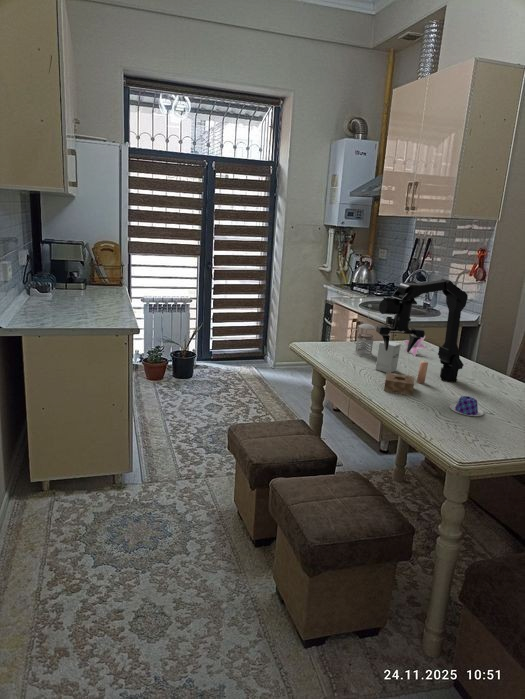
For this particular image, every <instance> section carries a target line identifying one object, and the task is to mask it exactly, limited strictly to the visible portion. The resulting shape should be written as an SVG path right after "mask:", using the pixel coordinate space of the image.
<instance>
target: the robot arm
mask: <svg viewBox="0 0 525 699" xmlns="http://www.w3.org/2000/svg"><path fill="white" fill-rule="evenodd" d="M440 291H442V294H443V295H444V296H445V303H446V306H447V309H448V313H447V314H448V315H447V322H446V329H445V330H446V332H445V338H444V343H443V345H440V346H438V353H437V355H438V359H439V362H440V364H441V365H442V367H441V368H440V372H439V373H440V374H439V378H440V380H441V381H444V382H450V383H458V373H459V370H462V369H463V367H464V363H463V361H462V360H461V358H460V357H461V356H460V349H459V347H458V338H459V332H460V331H459V330H460V323H461V314H462V311H463V310H464V308H466V305H467V301H468V293H467V292H466V291H465V290H462V289H461V288H460V287H458V286H457V285H455V283H453V282H452V280H449V279H445V278H442V279H438V280H437V279H436V280H431V281H426V282H418V283H414V282H400V284H399V285H398V287H397V289H396V290H395V291H394V292H393V293H392V294H391V296H390V297H388V296H383V298H382V299H381V300H380V302H379V304H378V310H379V313H380V314H381V315H394V318H393V317H392V316H386V318H385V324H378V325H377V326H376V327H375V331H376V332H377V333H378V334H379V335H380V336H382V339H383V342H384V345H385V350H386V351H387V350H388V345H389V341H390V336H391V335H390V334H405V335H409V339H408V340H409V343H408V346H407V348H406V349H407V352H406V353H410V352H411V351H410V350H411V348H412V347H413V345H414V344H415V343H416V342H417V341H418V340H419V339H421V338H420V337H422V338H424V336H426V335H425V334H426V332H425V330H424V329H422V328H421V327H411V328H409V325H410V322H411V320H412V318H411V315H412V308H413V305H418V302H417V301H416V299H417V298H418V297H420V296H421V295H423V294H428V293H434V292H435V293H436V292H440ZM388 325H389V326H388ZM424 339H425V338H424Z"/></svg>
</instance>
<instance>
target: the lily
mask: <svg viewBox="0 0 525 699" xmlns="http://www.w3.org/2000/svg"><path fill="white" fill-rule="evenodd" d="M420 338H421V339H419V340H418V341H417V342H416V343H415V344H414V345H413V347H412V348H411V350H410V351H409V352H411V354H412V355H413V357H416V355H417V353H418V352H419V350H421V349H426V346H425V345H424V344H422V343H423V341H424V340H425V338H426V335H424V338H422V337H420ZM402 343H403V344H404V345H405V346H406V347H408V343H409V339H405V340H403V341H402ZM404 353H408V352H407V348H406V349H405V351H404Z"/></svg>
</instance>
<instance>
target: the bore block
mask: <svg viewBox="0 0 525 699" xmlns="http://www.w3.org/2000/svg"><path fill="white" fill-rule="evenodd" d="M383 387H384V388H383V391H384V392H390V393H394V394H396V393H397V394H402V395H407V396H413V395H414V394H413V393H414V392H413V391H414V388H415V377H414V376H412V375H411V376H410V375H406V374H399V373H393V372H391V373H387V372H386V374H385V381H384V386H383Z"/></svg>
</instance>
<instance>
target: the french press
mask: <svg viewBox="0 0 525 699" xmlns="http://www.w3.org/2000/svg"><path fill="white" fill-rule="evenodd" d="M367 307H368V312H370V309H371V308H373V305H372V304H368V305H367ZM369 318H370V314H368V316H367V319H369ZM359 328H360V329H363V330H365V333H363V332H361V333H359V331H360V329H359ZM374 330H376V327H375V326H374V325H372V324H369V321H367V323H362V324H359V325H358V328H355V329H354V330H353V331H352V333H351V340H352V342H353V343H354V344H355V350H354V351H353V354H354V355H355V356H357V357H362V358H363V357H364V358H372V357H374V354H373V344H374V338H373V337H374V335H373V334H369V333H367V332H368V331H374ZM356 331H358V336H357V339H356V340H357V341H355V340H354V339H353V336H354V332H356Z"/></svg>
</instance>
